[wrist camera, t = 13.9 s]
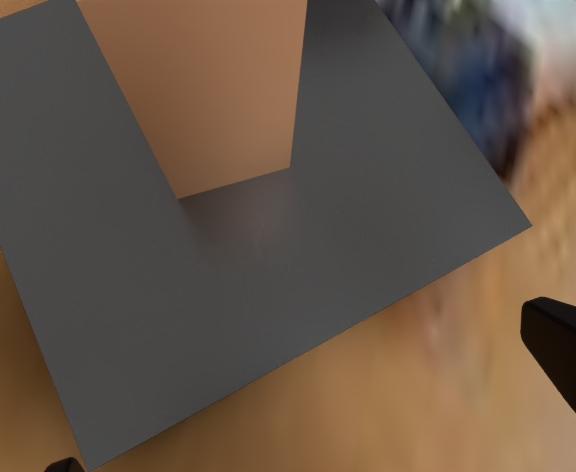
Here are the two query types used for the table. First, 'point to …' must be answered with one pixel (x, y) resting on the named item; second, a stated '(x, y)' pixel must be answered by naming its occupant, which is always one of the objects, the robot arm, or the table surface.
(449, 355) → the table surface
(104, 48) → the sleeve
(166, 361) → the plate
